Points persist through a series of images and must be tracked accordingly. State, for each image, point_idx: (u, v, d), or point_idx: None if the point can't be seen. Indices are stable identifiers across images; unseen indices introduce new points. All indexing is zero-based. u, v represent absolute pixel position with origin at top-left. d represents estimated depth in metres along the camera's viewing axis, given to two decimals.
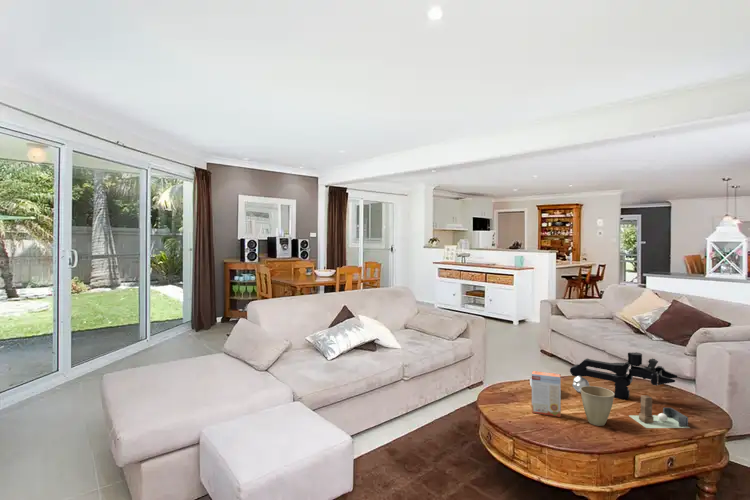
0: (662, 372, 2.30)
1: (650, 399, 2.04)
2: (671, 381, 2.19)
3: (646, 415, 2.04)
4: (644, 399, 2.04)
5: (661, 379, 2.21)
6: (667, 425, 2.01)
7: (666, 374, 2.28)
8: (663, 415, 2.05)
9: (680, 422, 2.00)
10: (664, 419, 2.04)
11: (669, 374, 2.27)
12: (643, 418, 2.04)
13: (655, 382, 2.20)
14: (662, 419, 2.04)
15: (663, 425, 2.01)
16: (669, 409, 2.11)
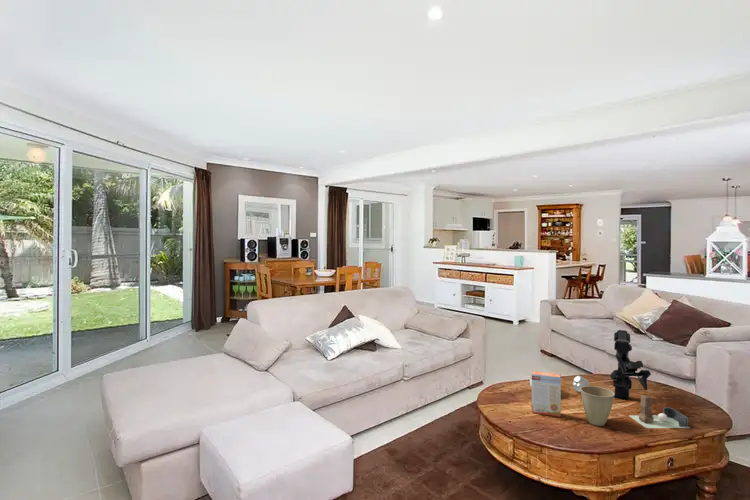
0: (642, 377, 2.17)
1: (650, 399, 2.04)
2: (625, 387, 2.14)
3: (646, 415, 2.04)
4: (644, 399, 2.04)
5: (621, 379, 2.17)
6: (667, 425, 2.01)
7: (642, 381, 2.17)
8: (663, 415, 2.05)
9: (680, 422, 2.00)
10: (664, 419, 2.04)
11: (643, 383, 2.15)
12: (643, 418, 2.04)
13: (612, 376, 2.19)
14: (662, 419, 2.04)
15: (663, 425, 2.01)
16: (669, 409, 2.11)
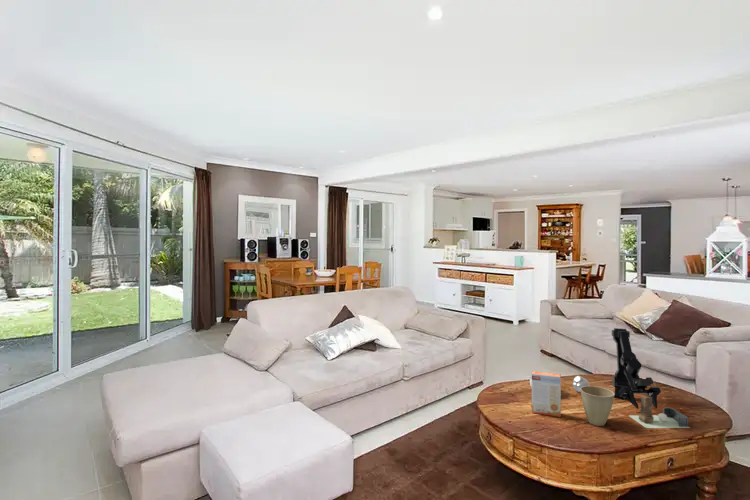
0: (652, 394, 2.09)
1: (650, 399, 2.04)
2: (635, 405, 2.06)
3: (646, 415, 2.04)
4: (644, 399, 2.04)
5: (630, 397, 2.09)
6: (667, 425, 2.01)
7: (652, 398, 2.08)
8: (663, 415, 2.05)
9: (680, 422, 2.00)
10: (664, 419, 2.04)
11: (653, 401, 2.07)
12: (643, 418, 2.04)
13: (620, 394, 2.11)
14: (662, 419, 2.04)
15: (663, 425, 2.01)
16: (669, 409, 2.11)
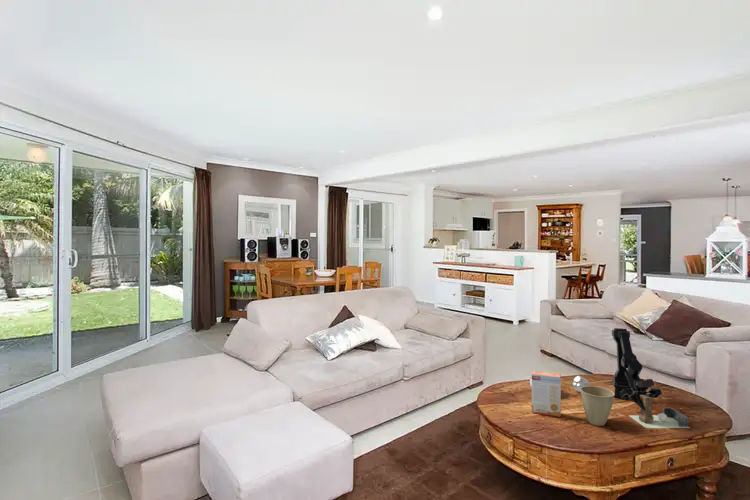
0: None
1: (650, 399, 2.04)
2: (641, 407, 2.06)
3: (646, 415, 2.04)
4: (644, 399, 2.04)
5: (636, 398, 2.08)
6: (667, 425, 2.01)
7: None
8: (663, 415, 2.05)
9: (680, 422, 2.00)
10: (664, 419, 2.04)
11: None
12: (643, 418, 2.04)
13: (621, 395, 2.11)
14: (662, 419, 2.04)
15: (663, 425, 2.01)
16: (669, 409, 2.11)
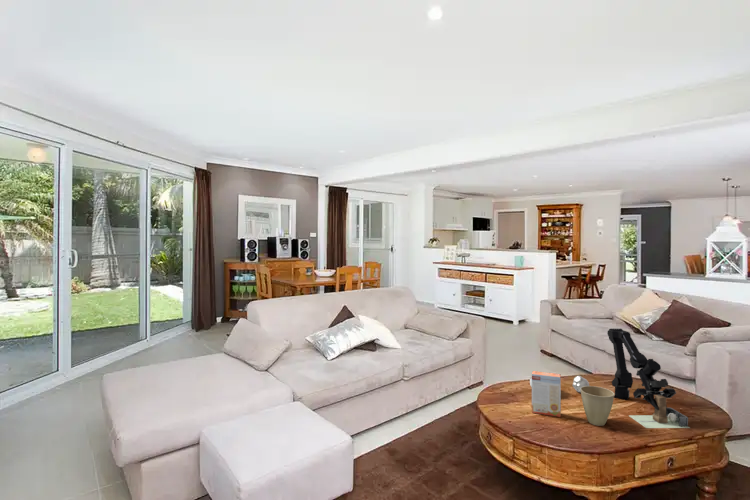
0: None
1: (664, 399, 2.04)
2: (655, 407, 2.06)
3: (660, 415, 2.04)
4: (658, 399, 2.04)
5: (650, 398, 2.08)
6: (667, 425, 2.01)
7: None
8: (676, 419, 2.05)
9: (680, 422, 2.00)
10: (675, 418, 2.04)
11: None
12: (657, 418, 2.04)
13: (635, 395, 2.11)
14: (675, 416, 2.04)
15: (663, 425, 2.01)
16: (669, 409, 2.11)
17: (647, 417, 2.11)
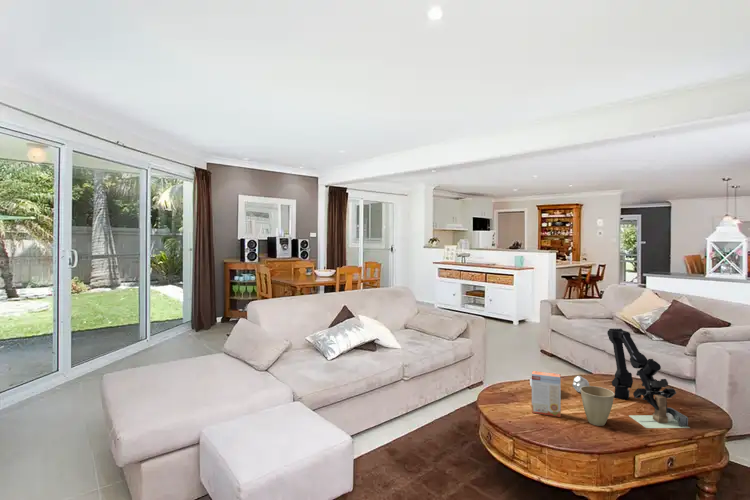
0: None
1: (664, 399, 2.04)
2: (655, 407, 2.06)
3: (660, 415, 2.04)
4: (658, 399, 2.04)
5: (650, 398, 2.08)
6: (667, 425, 2.01)
7: None
8: (673, 417, 2.05)
9: (680, 422, 2.00)
10: (670, 418, 2.04)
11: None
12: (657, 418, 2.04)
13: (635, 395, 2.11)
14: (669, 416, 2.04)
15: (663, 425, 2.01)
16: (669, 409, 2.11)
17: (647, 417, 2.11)
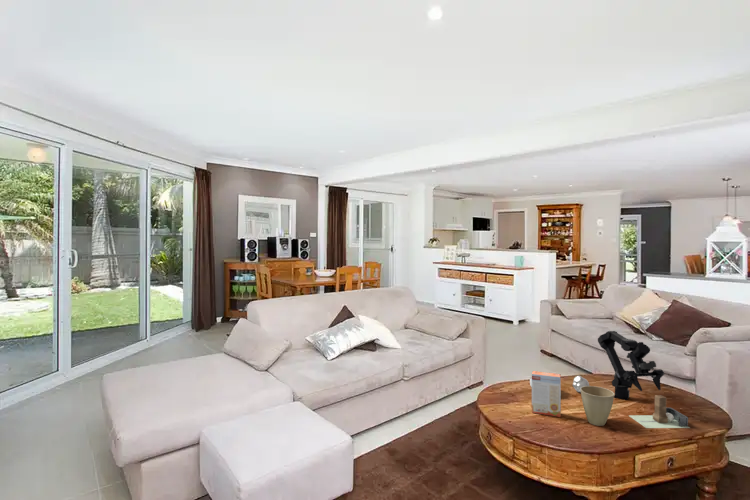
0: (655, 377, 2.17)
1: (664, 399, 2.04)
2: (638, 388, 2.15)
3: (660, 415, 2.04)
4: (658, 399, 2.04)
5: (634, 380, 2.18)
6: (667, 425, 2.01)
7: (656, 381, 2.17)
8: (673, 417, 2.05)
9: (680, 422, 2.00)
10: (671, 418, 2.04)
11: (657, 383, 2.15)
12: (657, 418, 2.04)
13: (624, 377, 2.20)
14: (670, 416, 2.04)
15: (663, 425, 2.01)
16: (669, 409, 2.11)
17: (647, 417, 2.11)
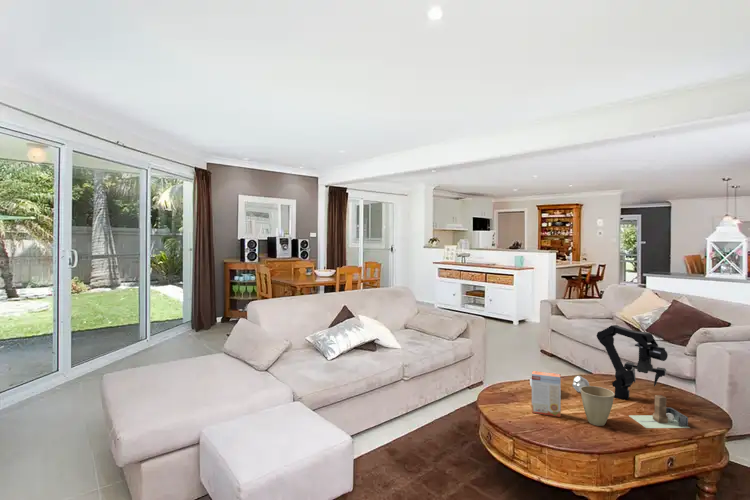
0: None
1: (664, 399, 2.04)
2: None
3: (660, 415, 2.04)
4: (658, 399, 2.04)
5: None
6: (667, 425, 2.01)
7: None
8: (674, 417, 2.05)
9: (680, 422, 2.00)
10: (672, 418, 2.04)
11: None
12: (657, 418, 2.04)
13: None
14: (671, 416, 2.04)
15: (663, 425, 2.01)
16: (669, 409, 2.11)
17: (647, 417, 2.11)
